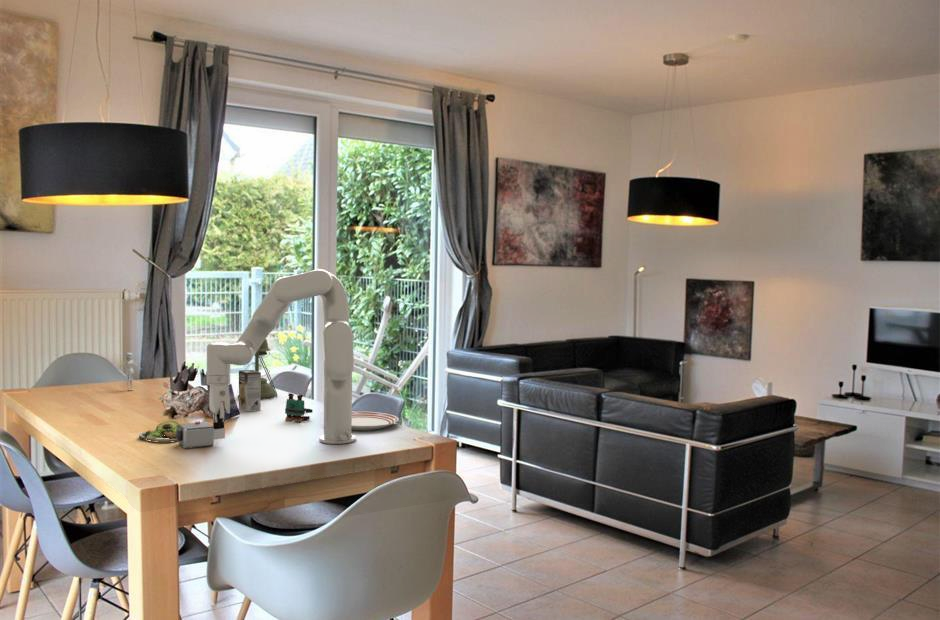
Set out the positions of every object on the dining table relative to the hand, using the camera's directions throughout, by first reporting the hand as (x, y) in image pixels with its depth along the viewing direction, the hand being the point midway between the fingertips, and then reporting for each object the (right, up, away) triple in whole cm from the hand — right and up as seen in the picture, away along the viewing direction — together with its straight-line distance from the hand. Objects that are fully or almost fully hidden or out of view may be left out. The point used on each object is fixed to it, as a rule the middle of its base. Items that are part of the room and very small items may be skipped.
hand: (218, 433), depth 257 cm
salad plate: (-21, -3, +10) cm, 23 cm away
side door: (-3, -3, -5) cm, 6 cm away
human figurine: (-77, +3, +105) cm, 130 cm away
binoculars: (+17, -2, +43) cm, 47 cm away
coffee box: (-8, 0, +63) cm, 64 cm away
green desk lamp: (-13, +1, +94) cm, 95 cm away
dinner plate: (+43, -3, +35) cm, 56 cm away
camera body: (-7, -4, -1) cm, 8 cm away
